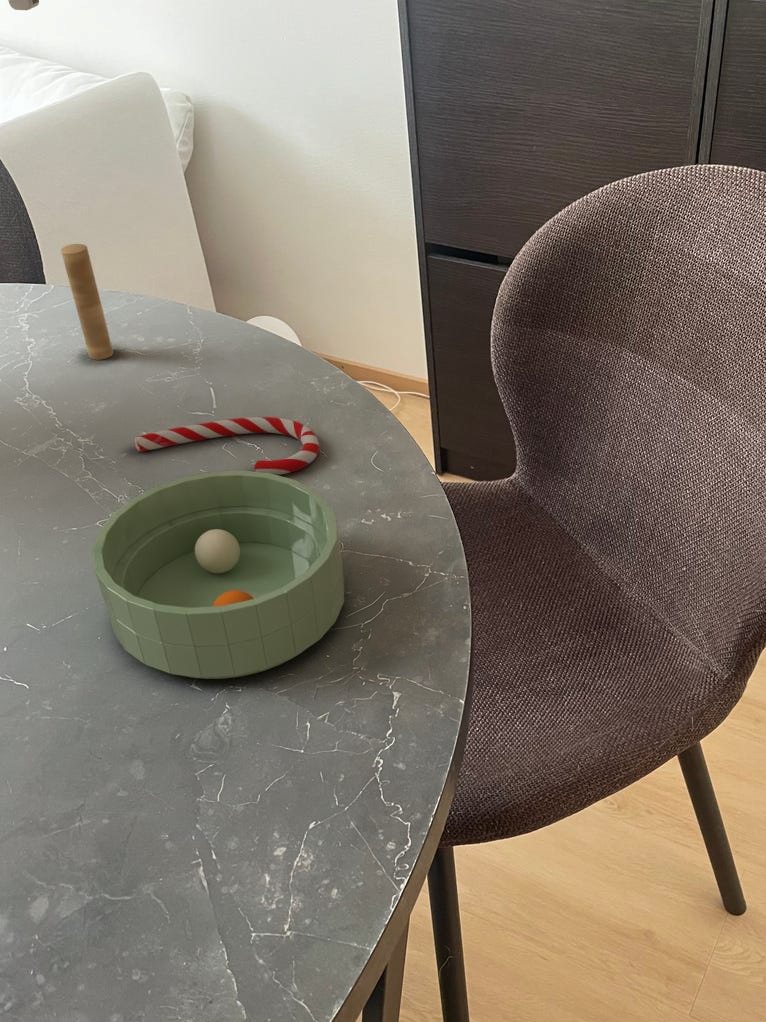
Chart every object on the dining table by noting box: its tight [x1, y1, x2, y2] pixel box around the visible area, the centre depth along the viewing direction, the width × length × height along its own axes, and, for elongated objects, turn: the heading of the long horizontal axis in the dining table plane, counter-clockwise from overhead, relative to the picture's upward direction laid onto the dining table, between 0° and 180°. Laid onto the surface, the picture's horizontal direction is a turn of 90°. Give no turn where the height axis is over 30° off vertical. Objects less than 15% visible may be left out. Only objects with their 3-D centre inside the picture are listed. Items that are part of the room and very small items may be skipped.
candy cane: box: [133, 416, 320, 476], centre depth 84 cm, size 8×1×15 cm
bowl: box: [91, 470, 345, 680], centre depth 68 cm, size 15×15×6 cm
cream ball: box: [195, 529, 240, 573], centre depth 71 cm, size 3×3×3 cm
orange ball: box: [213, 590, 254, 607], centre depth 66 cm, size 3×3×3 cm
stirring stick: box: [60, 243, 114, 361], centre depth 94 cm, size 2×2×10 cm
